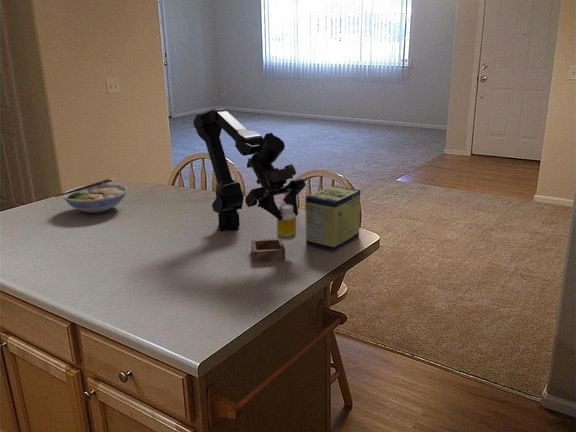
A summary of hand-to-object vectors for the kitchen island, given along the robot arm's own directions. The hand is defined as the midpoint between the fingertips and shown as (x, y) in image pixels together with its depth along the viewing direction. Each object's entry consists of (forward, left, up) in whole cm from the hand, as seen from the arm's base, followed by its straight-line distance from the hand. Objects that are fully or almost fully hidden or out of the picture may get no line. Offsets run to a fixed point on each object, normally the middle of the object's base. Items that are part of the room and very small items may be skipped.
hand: (289, 217), depth 149 cm
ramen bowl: (-65, +55, -12) cm, 86 cm away
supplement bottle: (-1, +1, -7) cm, 7 cm away
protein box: (+15, +10, -12) cm, 22 cm away
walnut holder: (-6, +2, -12) cm, 14 cm away
